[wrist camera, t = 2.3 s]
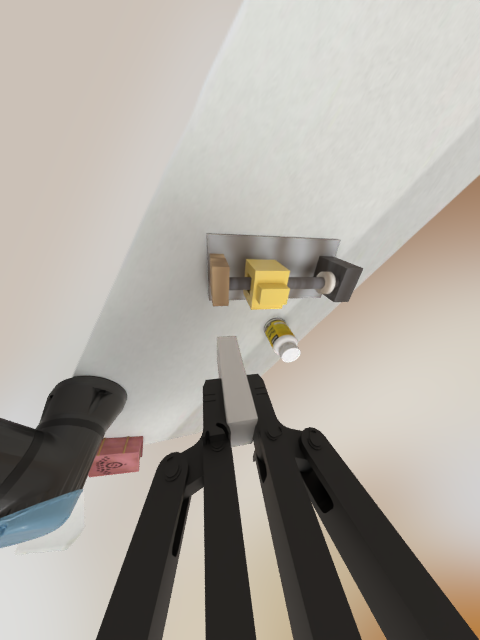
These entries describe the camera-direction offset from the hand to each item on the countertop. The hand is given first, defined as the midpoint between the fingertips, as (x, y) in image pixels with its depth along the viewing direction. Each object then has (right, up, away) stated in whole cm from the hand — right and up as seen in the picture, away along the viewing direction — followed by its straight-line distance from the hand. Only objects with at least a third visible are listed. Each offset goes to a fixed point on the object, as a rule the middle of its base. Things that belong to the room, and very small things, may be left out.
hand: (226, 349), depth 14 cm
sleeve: (+4, +10, +16) cm, 19 cm away
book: (-40, -40, +45) cm, 72 cm away
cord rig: (+8, +12, +20) cm, 25 cm away
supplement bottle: (+10, +1, +28) cm, 30 cm away
